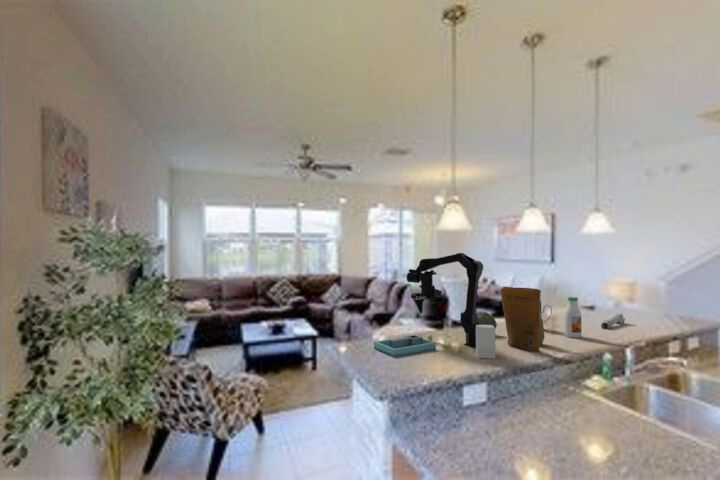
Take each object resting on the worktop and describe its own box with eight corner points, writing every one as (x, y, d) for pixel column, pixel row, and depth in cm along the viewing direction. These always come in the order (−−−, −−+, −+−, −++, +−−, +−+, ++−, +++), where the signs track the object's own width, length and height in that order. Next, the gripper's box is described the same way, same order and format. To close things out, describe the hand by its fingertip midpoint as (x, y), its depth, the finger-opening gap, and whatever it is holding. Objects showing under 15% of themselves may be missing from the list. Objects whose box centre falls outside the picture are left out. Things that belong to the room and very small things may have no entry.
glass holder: (529, 326, 238) (529, 299, 238) (555, 330, 228) (555, 302, 228) (522, 328, 232) (522, 301, 232) (548, 332, 222) (548, 304, 222)
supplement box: (495, 358, 175) (495, 328, 175) (477, 357, 176) (477, 327, 176) (493, 353, 182) (493, 324, 182) (475, 353, 184) (475, 324, 184)
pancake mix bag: (536, 354, 181) (536, 289, 181) (499, 345, 197) (499, 285, 196) (545, 351, 185) (545, 288, 185) (508, 343, 200) (507, 284, 200)
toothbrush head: (599, 321, 231) (616, 310, 247) (600, 333, 232) (616, 321, 248) (609, 323, 227) (626, 311, 243) (610, 335, 228) (626, 322, 244)
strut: (394, 350, 185) (394, 341, 185) (387, 347, 190) (387, 339, 190) (422, 346, 193) (422, 337, 193) (414, 343, 198) (414, 334, 198)
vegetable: (502, 328, 224) (498, 320, 212) (485, 344, 224) (480, 337, 212) (486, 312, 231) (481, 304, 219) (469, 328, 231) (463, 320, 219)
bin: (435, 349, 190) (435, 342, 190) (393, 356, 179) (393, 349, 179) (414, 341, 204) (414, 335, 204) (373, 348, 192) (373, 341, 192)
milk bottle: (565, 337, 211) (564, 297, 211) (563, 334, 218) (563, 295, 218) (582, 338, 208) (582, 298, 208) (580, 335, 215) (580, 296, 215)
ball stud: (433, 342, 201) (433, 335, 201) (429, 343, 200) (429, 336, 200) (430, 341, 204) (430, 334, 204) (426, 342, 202) (426, 335, 202)
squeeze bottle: (544, 342, 200) (544, 305, 200) (544, 346, 193) (544, 307, 193) (526, 341, 204) (526, 304, 204) (525, 345, 196) (525, 306, 196)
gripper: (451, 284, 207) (451, 315, 207) (426, 281, 223) (426, 310, 223) (434, 285, 201) (434, 318, 201) (410, 282, 217) (410, 312, 217)
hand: (427, 314), depth 211 cm, fingers open, 9 cm apart
